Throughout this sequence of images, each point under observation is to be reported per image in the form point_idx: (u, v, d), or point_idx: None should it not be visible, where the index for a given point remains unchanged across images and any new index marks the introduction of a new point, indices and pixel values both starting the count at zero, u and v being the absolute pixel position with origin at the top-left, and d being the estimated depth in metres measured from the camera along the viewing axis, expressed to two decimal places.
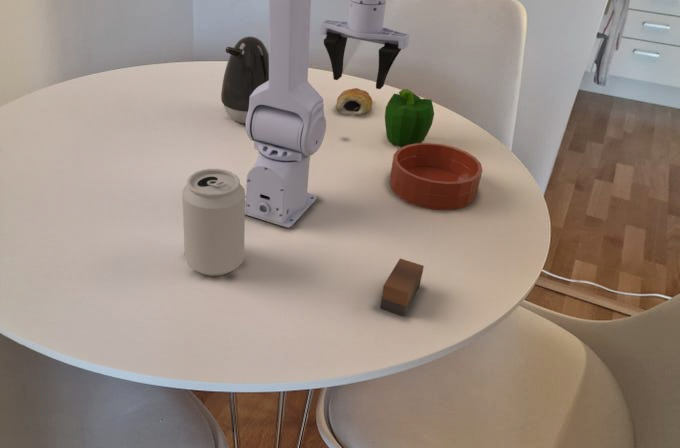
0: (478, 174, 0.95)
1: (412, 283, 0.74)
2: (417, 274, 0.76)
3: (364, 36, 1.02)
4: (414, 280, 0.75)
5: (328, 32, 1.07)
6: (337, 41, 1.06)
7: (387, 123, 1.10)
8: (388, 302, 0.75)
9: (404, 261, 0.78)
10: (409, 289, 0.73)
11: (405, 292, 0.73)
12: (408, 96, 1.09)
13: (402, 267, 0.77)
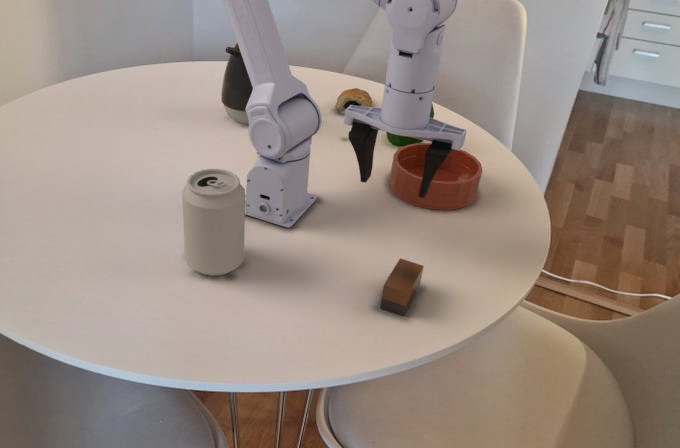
0: (478, 174, 0.95)
1: (412, 283, 0.74)
2: (417, 274, 0.76)
3: (405, 133, 0.75)
4: (414, 280, 0.75)
5: (354, 122, 0.80)
6: (367, 135, 0.79)
7: None
8: (388, 302, 0.75)
9: (404, 261, 0.78)
10: (409, 289, 0.73)
11: (405, 292, 0.73)
12: None
13: (402, 267, 0.77)
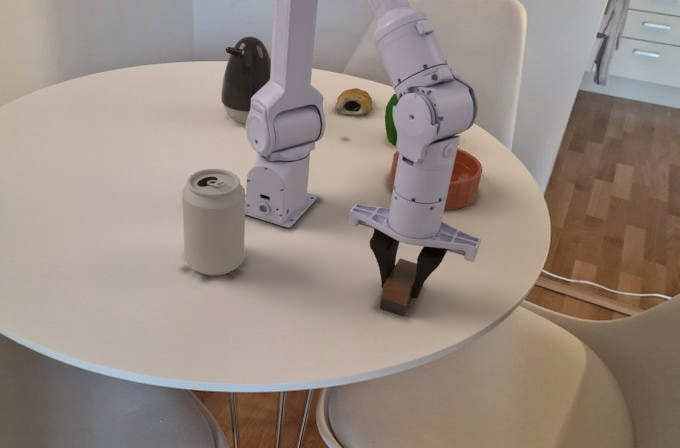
0: (478, 174, 0.95)
1: (412, 283, 0.74)
2: None
3: (414, 242, 0.69)
4: (414, 280, 0.75)
5: (376, 228, 0.73)
6: (390, 243, 0.73)
7: (387, 123, 1.10)
8: (388, 302, 0.75)
9: (404, 261, 0.78)
10: (409, 289, 0.73)
11: (405, 292, 0.73)
12: None
13: (402, 267, 0.77)
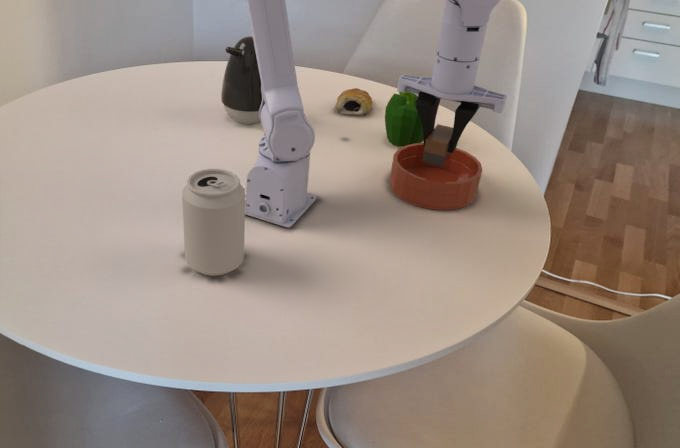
0: (478, 174, 0.95)
1: (449, 138, 0.91)
2: None
3: (453, 97, 0.86)
4: (450, 137, 0.91)
5: (420, 92, 0.90)
6: (432, 103, 0.89)
7: (387, 123, 1.10)
8: (429, 155, 0.91)
9: (441, 126, 0.94)
10: (447, 142, 0.90)
11: (444, 144, 0.89)
12: (408, 96, 1.09)
13: (440, 129, 0.93)
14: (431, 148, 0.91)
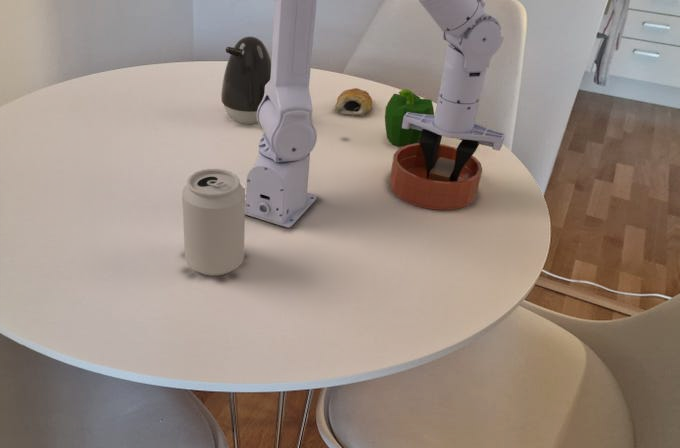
0: (478, 174, 0.95)
1: (451, 171, 0.96)
2: None
3: (454, 136, 0.92)
4: (452, 170, 0.97)
5: (423, 129, 0.96)
6: (434, 140, 0.95)
7: (387, 123, 1.10)
8: None
9: (443, 158, 1.00)
10: (449, 175, 0.95)
11: (446, 177, 0.95)
12: (408, 96, 1.09)
13: (442, 162, 0.99)
14: None
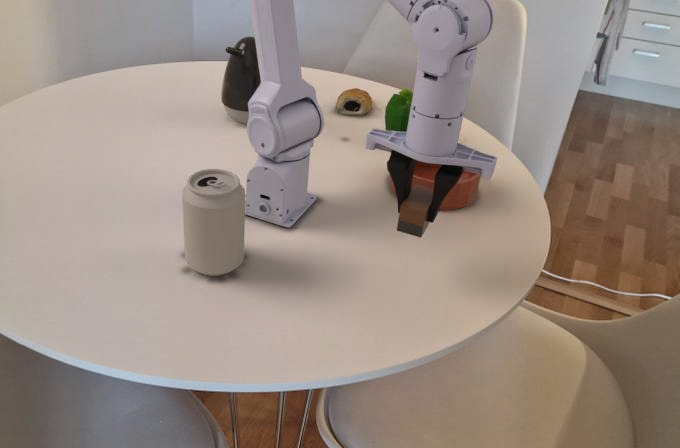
0: (478, 174, 0.95)
1: (429, 204, 0.75)
2: None
3: (432, 160, 0.70)
4: (430, 202, 0.76)
5: (393, 151, 0.74)
6: (407, 165, 0.74)
7: (387, 123, 1.10)
8: (405, 224, 0.76)
9: (420, 186, 0.79)
10: (426, 209, 0.74)
11: (423, 212, 0.74)
12: (408, 96, 1.09)
13: (418, 191, 0.78)
14: (407, 216, 0.75)
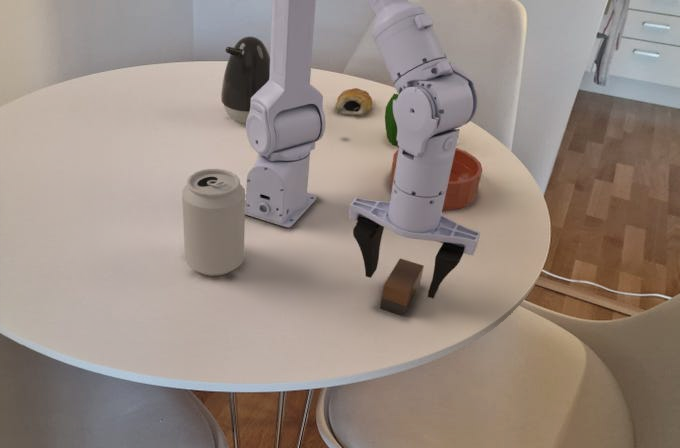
0: (478, 174, 0.95)
1: (412, 283, 0.74)
2: (417, 274, 0.76)
3: (414, 236, 0.70)
4: (414, 280, 0.75)
5: (359, 217, 0.74)
6: (373, 232, 0.74)
7: (387, 123, 1.10)
8: (388, 302, 0.75)
9: (404, 261, 0.78)
10: (409, 289, 0.73)
11: (405, 292, 0.73)
12: None
13: (402, 267, 0.77)
14: (390, 295, 0.74)
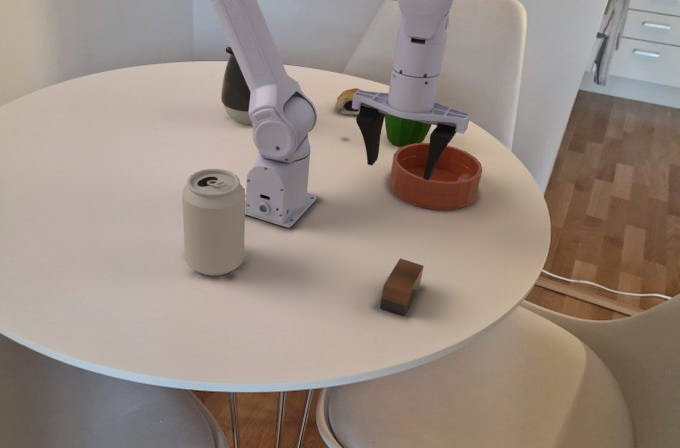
0: (478, 174, 0.95)
1: (412, 283, 0.74)
2: (417, 274, 0.76)
3: (411, 116, 0.78)
4: (414, 280, 0.75)
5: (362, 106, 0.82)
6: (374, 119, 0.82)
7: (387, 123, 1.10)
8: (388, 302, 0.75)
9: (404, 261, 0.78)
10: (409, 289, 0.73)
11: (405, 292, 0.73)
12: None
13: (402, 267, 0.77)
14: (390, 295, 0.74)
